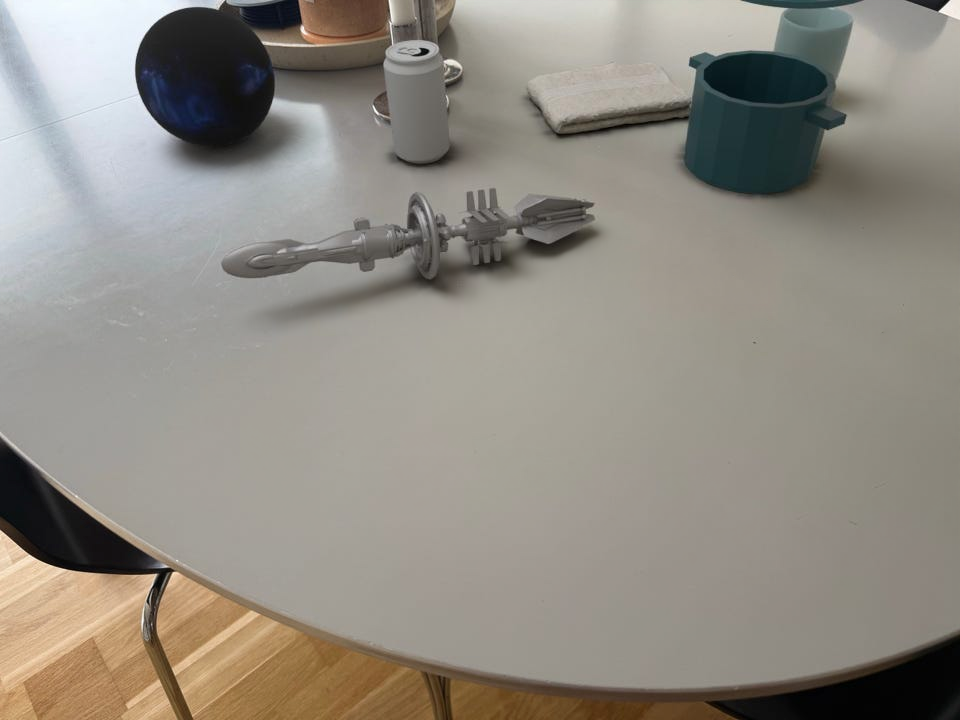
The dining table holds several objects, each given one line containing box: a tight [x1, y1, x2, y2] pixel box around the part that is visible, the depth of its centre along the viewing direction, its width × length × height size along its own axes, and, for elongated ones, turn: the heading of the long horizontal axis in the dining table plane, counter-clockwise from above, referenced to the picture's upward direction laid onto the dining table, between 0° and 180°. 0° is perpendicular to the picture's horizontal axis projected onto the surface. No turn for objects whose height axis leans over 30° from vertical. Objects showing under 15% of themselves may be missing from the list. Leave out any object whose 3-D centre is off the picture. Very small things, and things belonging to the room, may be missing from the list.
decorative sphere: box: [134, 6, 276, 147], centre depth 93 cm, size 15×15×15 cm
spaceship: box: [220, 187, 596, 280], centre depth 74 cm, size 8×35×8 cm
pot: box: [683, 49, 848, 195], centre depth 86 cm, size 14×19×10 cm
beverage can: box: [382, 39, 451, 165], centre depth 89 cm, size 6×6×12 cm
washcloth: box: [525, 61, 693, 135], centre depth 99 cm, size 12×18×3 cm, turn 104°
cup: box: [772, 7, 854, 84], centre depth 96 cm, size 8×8×10 cm
